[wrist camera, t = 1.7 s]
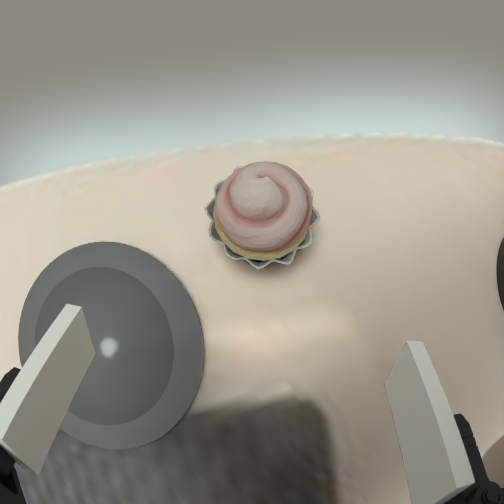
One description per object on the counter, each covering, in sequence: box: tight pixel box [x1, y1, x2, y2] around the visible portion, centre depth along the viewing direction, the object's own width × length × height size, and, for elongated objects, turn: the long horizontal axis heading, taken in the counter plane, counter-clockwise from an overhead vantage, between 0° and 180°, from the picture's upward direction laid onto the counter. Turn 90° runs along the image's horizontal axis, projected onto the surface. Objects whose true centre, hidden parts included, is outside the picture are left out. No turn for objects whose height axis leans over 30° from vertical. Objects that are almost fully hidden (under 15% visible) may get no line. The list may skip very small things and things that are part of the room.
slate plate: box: [18, 242, 204, 450], centre depth 27 cm, size 20×20×1 cm
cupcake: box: [205, 162, 321, 269], centre depth 26 cm, size 9×9×10 cm
